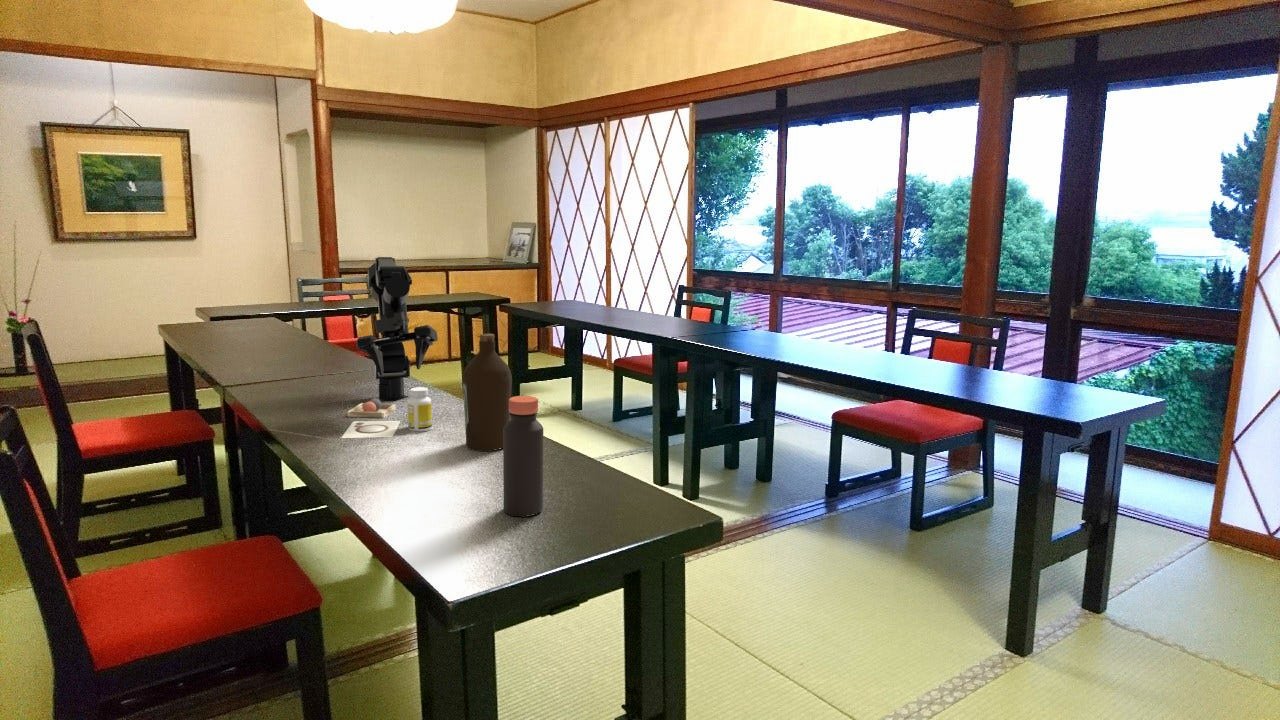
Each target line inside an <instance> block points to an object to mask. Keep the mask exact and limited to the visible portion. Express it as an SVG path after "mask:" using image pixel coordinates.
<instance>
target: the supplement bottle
mask: <svg viewBox="0 0 1280 720" xmlns="http://www.w3.org/2000/svg"><path fill="white" fill-rule="evenodd" d="M409 391H410V396H411V397H409V398H408V400H407V425H408V426H407V427H408V430H410V431H413V432H419V433H422V432H427V431H431V429H432V428H433V415H432V414H433V412H432V399H431V398H430V397H429V396H428V395H429V388H427V387H420V386H419V387H413V388H411V389H410V390H409Z"/></svg>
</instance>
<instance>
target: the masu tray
mask: <svg viewBox="0 0 1280 720" xmlns="http://www.w3.org/2000/svg"><path fill="white" fill-rule="evenodd" d="M365 403H366V402H361V403H359V404H358V405H356V406H354V407H353V408H351V409H350V410H348V411H347V417H348V418H349V417H350V418H351V417H352V418H376V419H377V418H379V419H380V418H381V419H383V418H384V419H385V418H386V417H387V416H388V415H390V414H391V413H392V412H394V411H395V410H397V404H396V403H381V408H380V409H379V410H377V411H375V412H364V411H363V405H364V404H365Z"/></svg>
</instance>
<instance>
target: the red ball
mask: <svg viewBox="0 0 1280 720" xmlns="http://www.w3.org/2000/svg"><path fill="white" fill-rule="evenodd" d="M364 403H365V404H364V405H363V411H364V412H375V411H376V405H375V404H374V403H373V402H369V401H366V402H364Z"/></svg>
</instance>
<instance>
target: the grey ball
mask: <svg viewBox="0 0 1280 720" xmlns="http://www.w3.org/2000/svg"><path fill="white" fill-rule="evenodd" d="M368 402H373V403H374V404H375V405H376V411H377V410H379V409H380V408H381V404H382V400H379V399H376V397H374V398H371V399H370V400H369V401H368Z"/></svg>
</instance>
